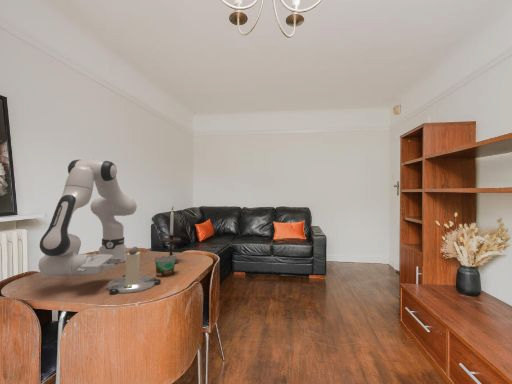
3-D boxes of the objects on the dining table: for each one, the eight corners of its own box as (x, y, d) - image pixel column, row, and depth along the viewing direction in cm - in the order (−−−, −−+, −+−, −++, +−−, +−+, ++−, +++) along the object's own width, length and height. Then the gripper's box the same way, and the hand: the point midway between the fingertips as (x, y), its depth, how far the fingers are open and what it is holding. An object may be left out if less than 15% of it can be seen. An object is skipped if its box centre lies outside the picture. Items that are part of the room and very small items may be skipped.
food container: (161, 279, 126) (162, 259, 127) (153, 277, 130) (154, 257, 130) (181, 273, 137) (181, 254, 137) (173, 271, 140) (173, 252, 140)
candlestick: (183, 262, 159) (185, 205, 160) (169, 266, 150) (170, 206, 150) (172, 259, 165) (173, 205, 165) (157, 263, 156) (159, 205, 156)
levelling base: (116, 278, 126) (116, 273, 126) (163, 276, 131) (163, 271, 131) (99, 295, 105) (100, 289, 105) (156, 292, 110) (157, 286, 110)
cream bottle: (128, 279, 120) (129, 246, 120) (140, 279, 121) (140, 246, 121) (124, 284, 114) (125, 249, 114) (137, 283, 115) (138, 249, 115)
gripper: (72, 263, 103) (110, 262, 106) (93, 252, 123) (124, 251, 126) (72, 279, 103) (110, 277, 106) (92, 265, 123) (123, 264, 126)
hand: (118, 263), depth 116 cm, fingers open, 8 cm apart
